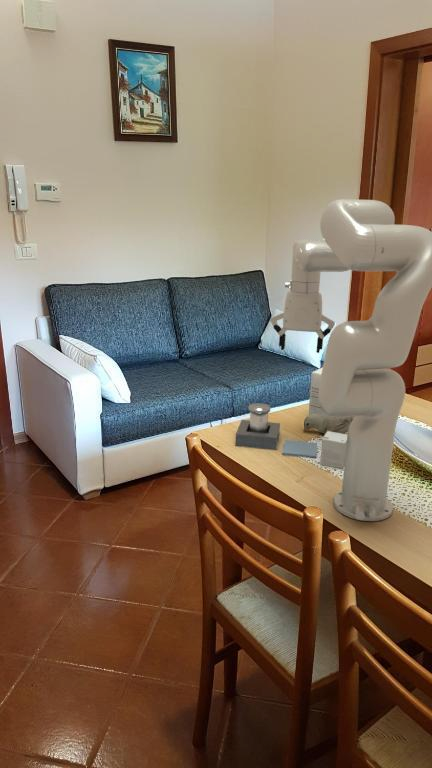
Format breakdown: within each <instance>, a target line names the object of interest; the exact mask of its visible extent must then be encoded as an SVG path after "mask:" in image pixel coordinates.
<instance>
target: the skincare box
mask: <svg viewBox="0 0 432 768" xmlns="http://www.w3.org/2000/svg"><path fill="white" fill-rule="evenodd" d="M347 435H348V433H347V434H346V433H345V434H341V433H336V432H330V431H327V433H326V434H324V435H323V437H322V438H321V445H320V447H321V448H320V461H319V462H320V463H319V464H320V466H321V465H322V466H327V467H332V468H335V469H342V470H344V464H345V454H346V444H347Z"/></svg>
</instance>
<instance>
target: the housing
mask: <svg viewBox="0 0 432 768" xmlns="http://www.w3.org/2000/svg"><path fill="white" fill-rule="evenodd" d="M280 429H281V423H280V422H272V421H270V422H269V421H268V428H267V433H256V432H249V431H250V419H249V420H248V419H241V420H240V423H239V425H238V428H237V430H236V432H235V441H234V442H235V443H234V445H235V447H242V446H244V447H243V448H252V449H253V448H254V449H264V450H273V451H275V450H277V448H278V443H279V438H280V434H281V433H280V432H281V430H280Z"/></svg>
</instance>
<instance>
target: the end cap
mask: <svg viewBox="0 0 432 768" xmlns="http://www.w3.org/2000/svg"><path fill="white" fill-rule="evenodd" d="M248 412H250V413H249V420H250V431H249V432H256V433H267V428H268V422H269V413H270V412H271V406H270V405H269V404H266V403H262V402H261V403H259V402H255V403H251V404H249V405H248Z"/></svg>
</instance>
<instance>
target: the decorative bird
mask: <svg viewBox="0 0 432 768" xmlns="http://www.w3.org/2000/svg"><path fill="white" fill-rule="evenodd" d="M354 417H355V416H346V417H333V416H329V415H327V414H316V413H315V414H310V415H309V414H307V416H306V417H305V419H304V420H303V431H304V432H307V431H310V430H316V431H317V432H319V433H320V434H324V435H325V434H326V433H327V431H330V432H336V433H341V434H346V433H347V434H348V430H349V427H350V424H351V422H352V420H353V419H354Z"/></svg>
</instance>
